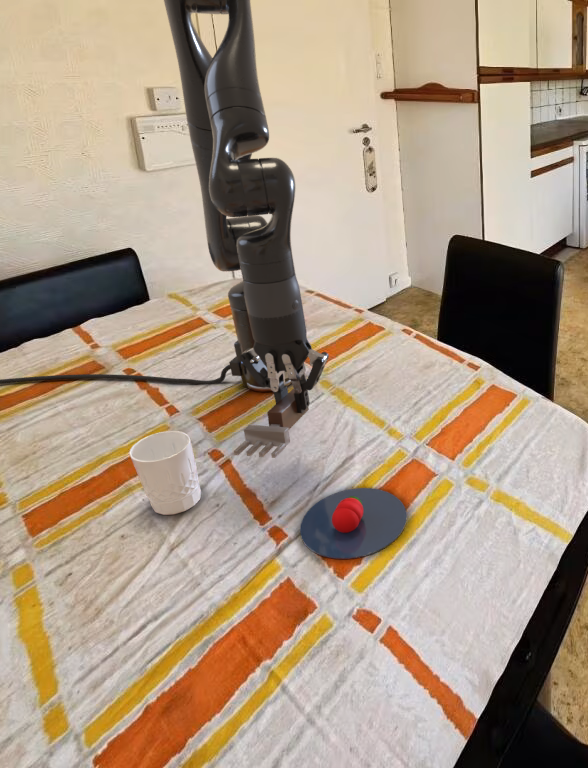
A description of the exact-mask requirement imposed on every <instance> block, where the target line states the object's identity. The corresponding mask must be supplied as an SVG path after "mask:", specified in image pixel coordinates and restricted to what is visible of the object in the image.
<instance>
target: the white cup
mask: <svg viewBox="0 0 588 768" xmlns="http://www.w3.org/2000/svg"><path fill="white" fill-rule="evenodd" d="M129 457H130V460H131V462H132V465H133V467H134V469H135V472H136V474H137V477H138V479H139V482H140V484H141V487H142V489H143V491H144V493H145V495H146V497H147V499H148V500H149V501H148V502H149V503H150V506H151V508H152V509H153V511H154V512H155V513H156V514H160V515H163V516H167V515H177V514H180V513H183V512H185V511H188V510H189V509H191V508H193V507H194V506H196V505H197V504H198V502H199V501H200V500H201V496H202V490H201V485H200V481H199V479H200V477H199V473H198V468H197V463H196V458H195V453H194V449H193V444H192V440H191V437H190V435H189V434H188V433H186V432H184V431H181V430H180V431H179V430H165V431H160V432H156V433H153V434H149V435H147V436H145V437H143V438H141V439H139V440H138V441H136V442H135V443H134V444H133V445H132V446H131V447H130V449H129Z"/></svg>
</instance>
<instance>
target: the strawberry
mask: <svg viewBox="0 0 588 768" xmlns="http://www.w3.org/2000/svg"><path fill="white" fill-rule="evenodd" d="M362 516H363V506H362V501H361V500H360V499H359V498H358V497H355V496H350V497H348V498H346V499H344V500H342V501H341V502H340V503H339V504H338V506H337V508H336V509H335V511H334V513H333V516H332V523H333V526H334V527H335V529H336V530H338V531H339V532H342V533H348V532H351V531H353V530H354V529H355V528H356V527H357V526H358V524H359V522H360V520H361V518H362Z"/></svg>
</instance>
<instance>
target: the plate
mask: <svg viewBox="0 0 588 768" xmlns="http://www.w3.org/2000/svg"><path fill="white" fill-rule="evenodd" d="M350 496H355V497H358V498H359V499H360V500H361V501H362V506H363V516H362V518H361V520H360V522H359V524H358V526H357V527H356V528H355V529H354V530H353V531H351V532H348V533H342V532H339V531H338V530H336V529H335V527H334V526H333V523H332V516H333V513H334V511H335V509H336V508H337V506H338V504H339V503H340V502H341V501H342V500H344V499H346V498H348V497H350ZM407 518H408V514H407V510H406V507H405V505H404V504H403V502H402V501H401V500H400V499H399V498H398V497H397V496H396V495H394V494H392V493H391V492H388V491H386V490H382V489H378V488H372V487H357V488H356V487H355V488H350V489H344V490H340V491H338V492H334V493H331V494H330V495H327V496H325V497H324V498H321V499H320V500H318V501H317V502H316V503H315V504H313V505H312V506H311V507H310V508H309V509H308V510H307V512H305V515H304V516H303V518H302V520H301V523H300V525H299V533H300V537H301V541H302V542H303V544H304V545H305V546H306V548H307V549H308V550H310V551H311V552H313V553H314V554H317V555H318V556H321V557H325V558H328V559H334V560H352V559H353V560H354V559H359V558H364V557H367V556H370V555H373V554H375V553H376V554H377V553H378V552H380V551H382V550H384V549H385V548H387V547H389V546H390V545H391V544H392V543H394V542H395V541H396V540H397V539H398V538H399V537H400V536H401V534H402V533H403V531H404V530H405V528H406V524H407V520H408V519H407Z"/></svg>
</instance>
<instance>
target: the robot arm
mask: <svg viewBox="0 0 588 768" xmlns="http://www.w3.org/2000/svg"><path fill="white" fill-rule="evenodd" d="M163 3H164V7H165V12H166V16H167V20H168V25H169V28H170V33H171V37H172V41H173V42H172V43H173V45H174V49H175V54H176V59H177V66H178V70H179V76H180V77H179V78H180V82H181V83H180V84H181V89H182V90H181V91H182V97H183V104H184V109H185V117H186V123H187V128H188V132H189V133H188V134H189V139H190V143H191V149H192V153H193V158H194V161H195V162H194V163H195V166H196V171H197V175H198V176H197V177H198V182H199V187H200V192H201V193H200V194H201V201H202V208H203V220H204V226H205V235H206V240H207V241H206V243H207V248H208V253H209V256H210V259H211V261H212V263H213V265H214V267H215V268H216V269H217V270H218V271H221V272H226V273H227V272H236V271H240V273H241V277H242V280H241V281H240V282H237V283H236V284H234V285H233V286H232V287H230V289H229V290H228V292H227V297H228V302H229V307H230V312H231V316H232V321H233V325H234V329H235V334H236V339H237V340H236V341H235V342H234V343H233V348H234V351H235V357H234V358H232V359H231V360H230V361H229V362H228V365H226V366H224V368H223V369H222V370H221V372H220V376H219V377H218V378H216V379H211V380H199V379H193V378H192V379H191V378H175V377H174V378H173V377H162V376H152V375H151V376H150V375H137V374H136V375H135V374H134V375H133V374H106V373H103V374H102V373H99V374H98V373H93V374H91V373H89V374H88V373H87V374H86V373H85V374H83V373H82V374H59V375H58V374H57V375H56V374H55V375H39V376H26V377H25V376H24V377H14V378H1V379H0V385H4V384H16V383H27V382H41V381H43V382H45V381H57V380H59V381H61V380H93V379H95V380H103V379H104V380H128V381H129V380H130V381H131V380H132V381H146V382H147V381H148V382H160V383H169V384H170V383H171V384H187V385H188V384H190V385H196V386H197V385H198V386H199V385H201V386H202V385H203V386H204V385H217V384H220V383H221V382H223V381H224V380H225V379H226V376H227V372H229V371H230V372H231V376H233V377H240V379H241V383H242V386H243V387H245V388H248V389H249V390H251V391H254V392H260V393H261V392H262V393H263V392H265V393H267V392H273V397H274V402H275V405H276V404H277V403H278V402H279V401H280V400H281V399H282V398H284V397H285V396H286V395H287V394H288V393H289V389H288V386H290V385H291V384H292V389H294V391H295V393H294V397H295V401H296V406H297V412H298V413H304V411H305V410H306V409H307V407H309V406H310V397H309V391H312V389H313V388H314V387H315V386H316V385H317V384H318V382H319V381H320V378H321V376H322V374H323V372H324V369H325V367H326V365H327V362H328V360H329V359H330V358H329V357H330V354H329V353H328V352H326V351H323V352H321V353H320V352H318V351H317V350H314V349H313V348H312V344H311V343H310V342H309V339H308V337H307V334H308V333H307V325H306V320H305V312H304V307H303V300H302V293H301V289H300V285H299V284H300V283H299V281H298V278H297V274H296V269H295V263H294V256H293V250H292V232H291V231H292V219H293V212H294V207H295V197H296V179H295V176H294V173H293V171H292V169H291V168H290V166H289V165H288V164H287V163H286V161H284V160H283V159H281V158H279V157H260V158H252V156H253V154H254V153H257V152H259V151H261V150H263V149H264V148H265V147H266V146H267V145H268V143H269V142H270V141H269V140H270V130H269V125H268V120H267V115H266V110H265V107H264V102H263V101H264V100H263V97H262V94H261V93H262V92H261V88H260V83H259V76H258V68H257V67H258V66H257V58H256V42H255V41H256V40H255V31H254V23H253V13H252V12H253V11H252V5H251V3H252V2H251V0H163ZM192 14H203V15H204V14H205V15H223V16H224V15H225V16H226V15H228V21H227V27H226V31H225V32H224V36H223V38H222V40H221V42H220V43H219V46H218V48H217V49H216V51H215V53H214V55H213V56H212V55H211V53H210V52H209V50H208V49H207V47H206V46H205V44H204V42H203V41H202V38H201V37H200V35H199V32H198V31H197V29H196V26H195V24H194V23H193V20H192ZM263 215H271V217H270V219H269V221H267V220H266V219H265V217H263ZM308 358H309V366H310V367H311V369H310V372H309V374H308V376H307V375H306V374H307V373H306V370H307V369H306V364H305V362H306V360H307V359H308Z"/></svg>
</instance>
